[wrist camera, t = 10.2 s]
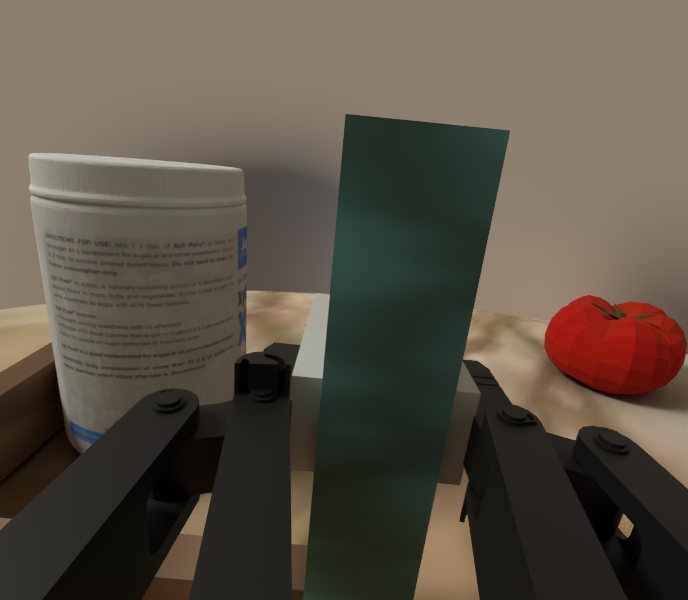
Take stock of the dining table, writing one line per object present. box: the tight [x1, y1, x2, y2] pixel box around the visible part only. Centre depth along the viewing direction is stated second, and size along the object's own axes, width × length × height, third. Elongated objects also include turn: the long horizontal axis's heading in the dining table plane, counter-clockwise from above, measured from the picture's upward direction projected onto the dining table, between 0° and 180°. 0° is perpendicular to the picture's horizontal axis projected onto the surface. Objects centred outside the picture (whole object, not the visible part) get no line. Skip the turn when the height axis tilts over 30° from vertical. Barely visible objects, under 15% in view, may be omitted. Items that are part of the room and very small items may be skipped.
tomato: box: [544, 295, 687, 395], centre depth 35 cm, size 10×11×6 cm
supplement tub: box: [28, 153, 247, 454], centre depth 22 cm, size 10×10×15 cm
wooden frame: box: [0, 114, 510, 600], centre depth 19 cm, size 19×19×16 cm
